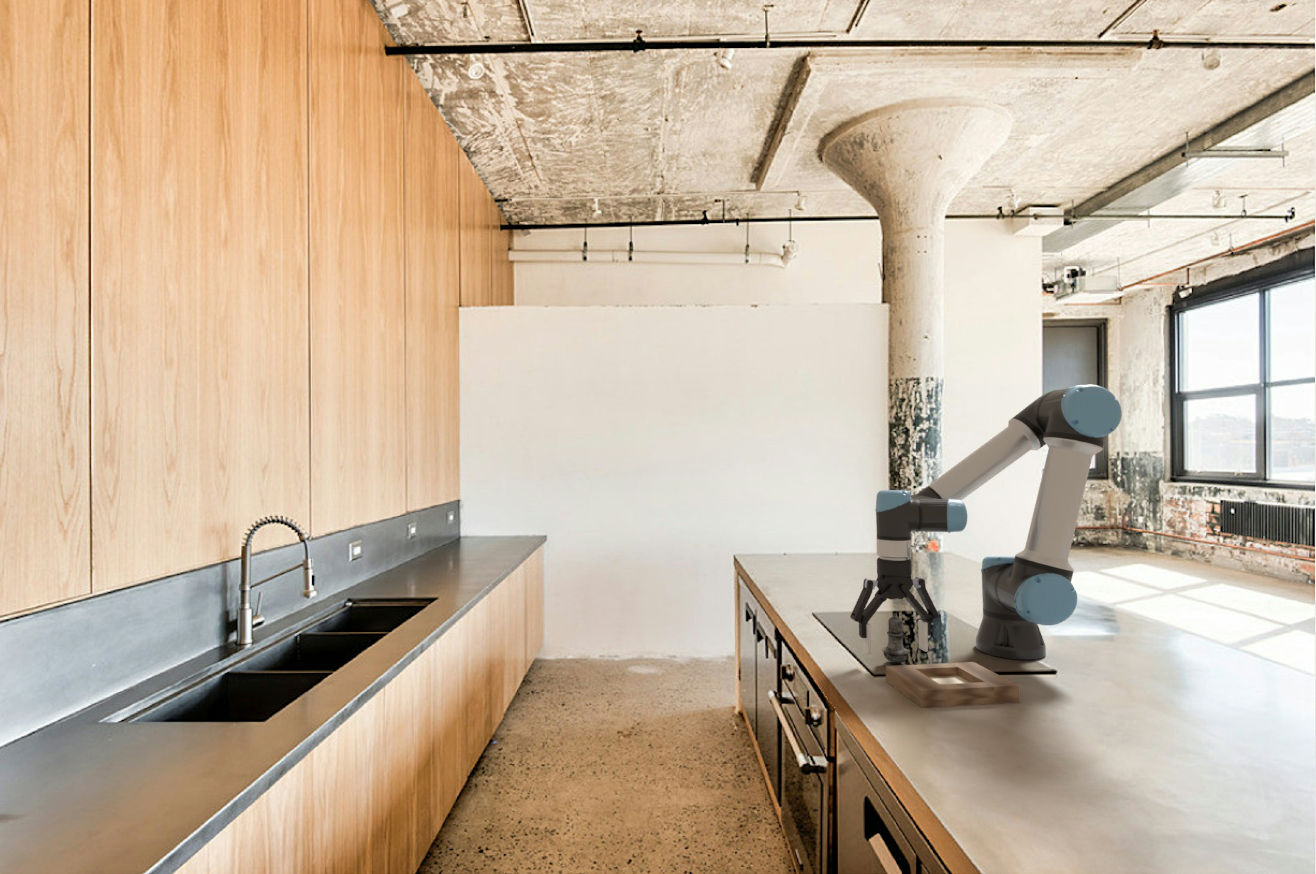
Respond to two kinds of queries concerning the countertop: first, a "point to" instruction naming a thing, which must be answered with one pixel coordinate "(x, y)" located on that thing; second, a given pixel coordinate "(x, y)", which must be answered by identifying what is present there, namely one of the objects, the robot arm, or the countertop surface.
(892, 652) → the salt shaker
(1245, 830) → the countertop surface
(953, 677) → the wooden frame
